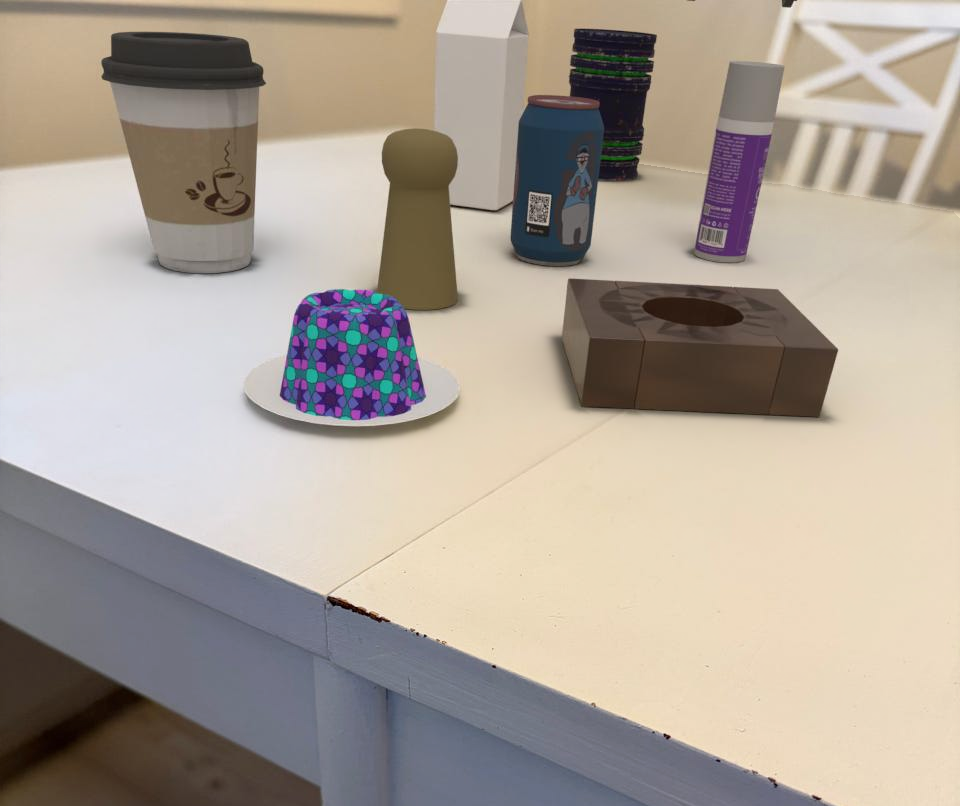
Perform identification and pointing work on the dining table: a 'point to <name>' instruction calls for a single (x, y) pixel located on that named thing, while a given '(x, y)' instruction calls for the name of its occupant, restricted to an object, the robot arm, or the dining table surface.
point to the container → (738, 160)
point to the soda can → (556, 179)
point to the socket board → (694, 349)
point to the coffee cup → (190, 142)
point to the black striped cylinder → (615, 92)
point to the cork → (419, 220)
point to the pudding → (351, 365)
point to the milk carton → (481, 96)
